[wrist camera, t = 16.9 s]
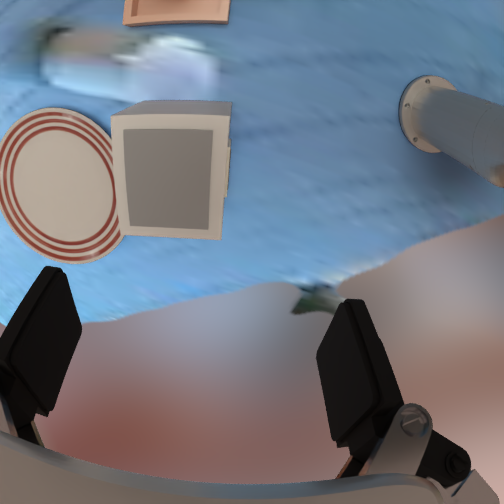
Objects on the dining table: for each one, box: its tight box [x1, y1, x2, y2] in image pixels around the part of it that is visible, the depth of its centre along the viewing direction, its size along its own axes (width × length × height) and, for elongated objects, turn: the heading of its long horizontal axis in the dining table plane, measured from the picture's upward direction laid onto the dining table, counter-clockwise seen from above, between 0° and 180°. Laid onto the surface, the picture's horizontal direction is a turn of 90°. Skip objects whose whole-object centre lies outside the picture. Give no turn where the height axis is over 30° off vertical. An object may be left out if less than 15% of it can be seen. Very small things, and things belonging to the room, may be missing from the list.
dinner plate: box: [0, 108, 125, 264], centre depth 41 cm, size 27×27×3 cm
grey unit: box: [111, 100, 232, 240], centre depth 35 cm, size 13×14×12 cm
